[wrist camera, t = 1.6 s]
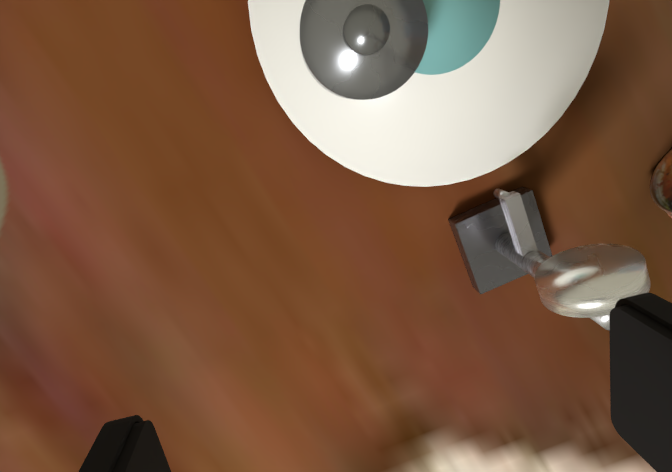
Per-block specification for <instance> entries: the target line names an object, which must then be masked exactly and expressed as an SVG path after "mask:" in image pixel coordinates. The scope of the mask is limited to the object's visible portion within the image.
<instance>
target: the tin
mask: <svg viewBox="0 0 672 472" xmlns="http://www.w3.org/2000/svg"><path fill="white" fill-rule="evenodd" d="M650 192H651V196H652V199H653V200H654V202H655V203H656V204H657V205H658V206H659V207H660V208H661V209H663V210H664V211H665V212H666V213H667V214H668V215H669V216H670V217H671V218H672V149H671V150H670V151H669V152H668V153H667V154H666V155H665V156H664V157H663V159H662V160H661V161H660V162H659V164H658V165H657V167H656V169H655V171H654V173H653V175H652V178H651V182H650Z"/></svg>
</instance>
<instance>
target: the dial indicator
mask: <svg viewBox="0 0 672 472" xmlns="http://www.w3.org/2000/svg"><path fill="white" fill-rule="evenodd" d="M493 195H494V196H495V197H497V198H495V199H493V200H491V201H489V202H486V203H484V204H482V205H480V206H477V207H475V208H473V209H471V210H468V211H466V212H464V213H461V214H459V215H457V216H455V217H452V218H450V219H448V220H449V223H450V226H451V228H452V231H453V234H454V236H455V239H456V242H457V245H458V247H459V250H460V253H461V256H462V258H463V261H464V264H465V266H466V269H467V272H468V275H469V277H470V280H471V283H472V285H473V287H474V288H475V289H476V290H477V291H478V292H479V293H480V294H482V293H485V292H487V291H489V290H492V289H494V288H496V287H498V286H501V285H503V284H505V283H508V282H510V281H512V280H515V279H517V278H519V277H521V276H524V275H526V274H530V275H531V276H532V277H534V279H535V283H536V286H537V289H538V292H539V295H540V298H541V301H542V303H543V304H544V306H545V307H546V308H548V309H549V310H551V311H553V312H555V313H557V314H560V315H564V316H569V317H579V318H589V317H590V318H591V319H592V320H594V321H595V322H597V323H598V324H599V325H601V326H602V327H604V328H605V329H607V330H610V312H611V310H612V309H613V308H615V305H616V303H617V301H618V300H620V299H622V298H626V297H631V296H635V295H639V294H643V293H648V292H649V289H650V279H649V274H648V270H647V266H646V262H645V258H644V256H643V255H642V254H641V253H640V252H639V251H637V250H635V249H633V248H631V247H628V246H624V245H618V244H591V245H585V246H580V247H575V248H572V249H568V250H565V251H563V252H560V253H558V254H556V255H554V256H552V253H551V250H550V247H549V243H548V240H547V237H546V233H545V230H544V227H543V224H542V220H541V217H540V214H539V210H538V207H537V204H536V200H535V197H534V194H533V190H530V189H528V188H525V187H520V188H518V189H516V190H514V191H511V192H506V191H504V190H501V189H495V190H494V192H493Z"/></svg>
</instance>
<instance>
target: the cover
mask: <svg viewBox="0 0 672 472" xmlns="http://www.w3.org/2000/svg"><path fill="white" fill-rule="evenodd" d="M299 40H300V49H301V53H302V57H303V60H304V63H305V65H306V67H307V69H308V71H309V72H310V74H311V75H312V77H313V78H314V79H315V80H316V81H317V82H318V83H319V84H320V85H321V86H322V87H323V88H324V89H326V90H327V91H329V92H330V93H332V94H334V95H336V96H339V97H342V98H346V99H353V100H368V99H375V98H380V97H383V96H385V95H388V94H390V93H392V92H394V91H396V90H397V89H398V88H400V87H401V86H402V85H404V84H405V83H406V82H407V81H408V80H409V79H410V77H411V76H412V75H413V74H414V73H415V71H416V69H417V68H418V66H419V64H420V62H421V60H422V58H423V55H424V52H425V49H426V45H427V40H428V19H427V13H426V9H425V5H424V3H423V0H306V1H305V3H304V6H303V9H302V13H301V19H300V37H299Z"/></svg>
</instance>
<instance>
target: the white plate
mask: <svg viewBox="0 0 672 472" xmlns="http://www.w3.org/2000/svg"><path fill="white" fill-rule="evenodd" d="M305 1H306V0H248V7H249V15H250V24H251V31H252V35H253V39H254V43H255V47H256V51H257V55H258V58H259V61H260V64H261V66H262V69H263V72H264V74H265V77H266V79H267V82H268V83H269V85H270V87H271V89H272V91H273V93H274V95H275V97H276V99H277V100H278V102H279V104H280V105H281V107H282V108H283V110H284V111H285V112H286V114H287V115H288V117H289V118H290V120H291V121H292V122H293V123H294V125H295V126H296V127H297V128H298V129H299V130H300V131H301V132H302V133H303V134H304V136H305V137H306V138H307V139H308V140H309V141H310V142H312V143H313V144H314V145H315V146H316V147H317V148H319V149H320V150H321V151H322V152H323V153H325V154H326V155H327V156H329V157H330V158H332V159H334V160H335V161H337V162H338V163H340V164H341V165H343V166H344V167H347V168H349V169H351V170H353V171H355V172H357V173H359V174H362V175H364V176H366V177H370V178H373V179H376V180H379V181H382V182H386V183H392V184H398V185H404V186H424V187H428V186H439V185H449V184H453V183H457V182H462V181H466V180H470V179H473V178H475V177H478V176H481V175H483V174H486V173H489V172H491V171H493V170H495V169H497V168H499V167H501V166H503V165H505V164H506V163H508V162H510V161H512V160H513V159H514V158H516V157H517V156H519V155H520V154H522V153H523V152H525V151H526V150H528V149H529V148H530V147H531V146H532V145H533V144H535V143H536V142H537V141H538V140H539V139H540V138H541V137H543V136H544V135H545V134H546V133H547V132H548V131H549V129H550V128H551V127H552V126H553V125H554V124H555V123H556V122H557V121H558V120H559V119H560V117H561V116H562V115H563V113H564V112H565V111H566V109H567V108H568V106H569V105H570V104H571V102H572V101H573V100H574V98H575V97H576V95H577V93H578V91H579V89H580V88H581V86H582V84H583V82H584V81H585V79H586V77H587V75H588V73H589V70H590V68H591V66H592V63H593V61H594V59H595V56H596V54H597V51H598V48H599V45H600V41H601V38H602V35H603V32H604V27H605V22H606V17H607V12H608V7H609V0H423V3H424V5H425V9H426V13H427V19H428V40H427V45H426V49H425V52H424V55H423V58H422V60H421V62H420V64H419V66H418V68H417V69H416V71H415V73H414V74H413V75H412V76H411V77H410V79H409V80H408V81H407V82H406V83H405V84H404V85H402V86H401V87H400V88H398V89H397V90H396V91H394V92H392V93H390V94H388V95H385V96H383V97H380V98H375V99H368V100H353V99H346V98H342V97H339V96H336V95H334V94H332V93H330V92H329V91H327V90H326V89H324V88H323V87H322V86H321V85H320V84H319V83H318V82H317V81H316V80H315V79H314V78H313V77H312V75H311V74H310V72H309V71H308V69H307V67H306V65H305V63H304V60H303V57H302V53H301V49H300V40H299V37H300V19H301V13H302V9H303V6H304V3H305Z"/></svg>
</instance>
